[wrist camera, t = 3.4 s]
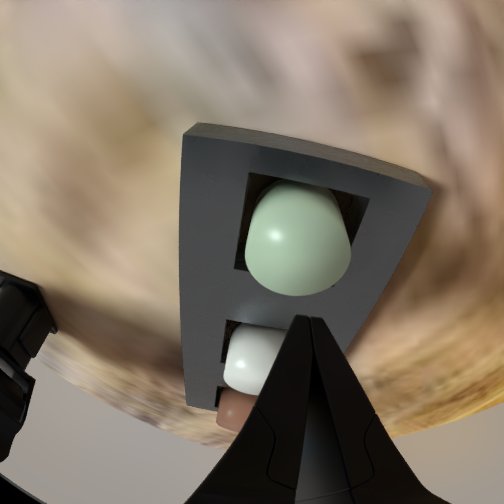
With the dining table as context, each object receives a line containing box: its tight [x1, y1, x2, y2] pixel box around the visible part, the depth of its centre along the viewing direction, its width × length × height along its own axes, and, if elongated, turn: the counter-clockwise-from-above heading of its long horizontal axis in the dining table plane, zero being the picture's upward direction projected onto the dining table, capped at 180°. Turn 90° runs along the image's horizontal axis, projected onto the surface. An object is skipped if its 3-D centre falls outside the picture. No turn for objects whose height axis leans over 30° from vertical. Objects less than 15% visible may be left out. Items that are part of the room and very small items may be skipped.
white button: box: [224, 322, 288, 395], centre depth 17 cm, size 4×4×3 cm
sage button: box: [245, 179, 351, 296], centre depth 12 cm, size 4×4×3 cm
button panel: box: [179, 123, 433, 412], centre depth 18 cm, size 10×24×2 cm, turn 171°
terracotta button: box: [216, 387, 258, 432], centre depth 22 cm, size 4×4×3 cm
